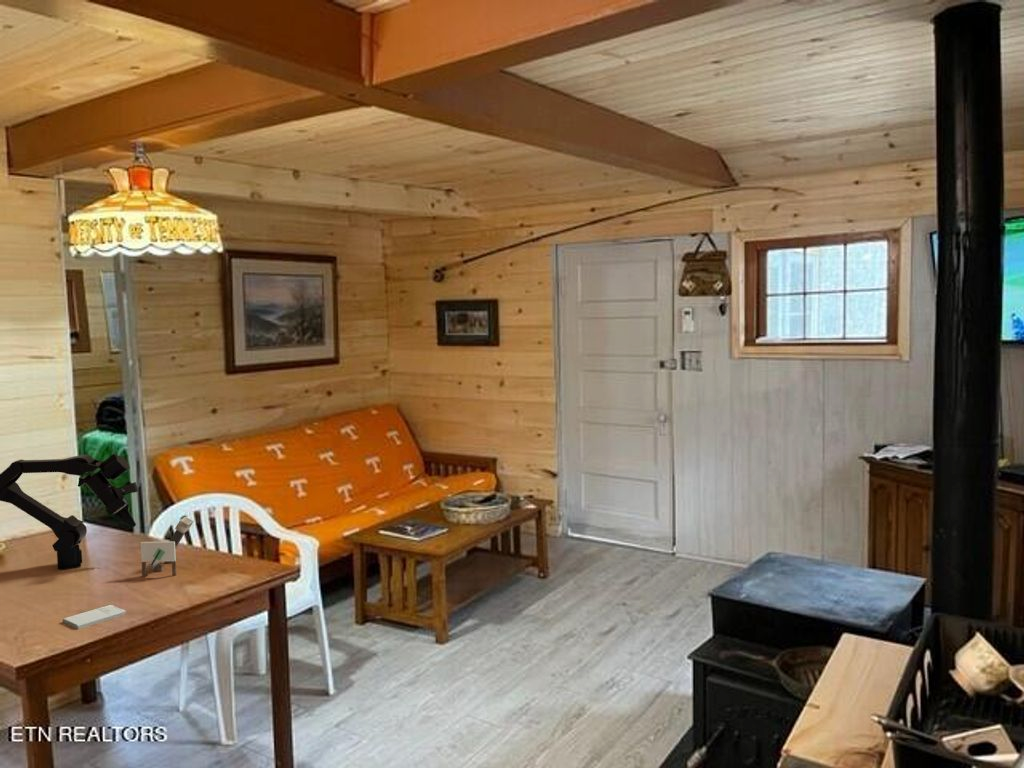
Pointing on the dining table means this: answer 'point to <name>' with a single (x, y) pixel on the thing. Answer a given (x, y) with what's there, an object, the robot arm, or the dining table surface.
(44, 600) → the dining table surface
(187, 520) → the block-topped post frame
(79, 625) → the external hard drive
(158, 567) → the peg stand
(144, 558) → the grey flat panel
